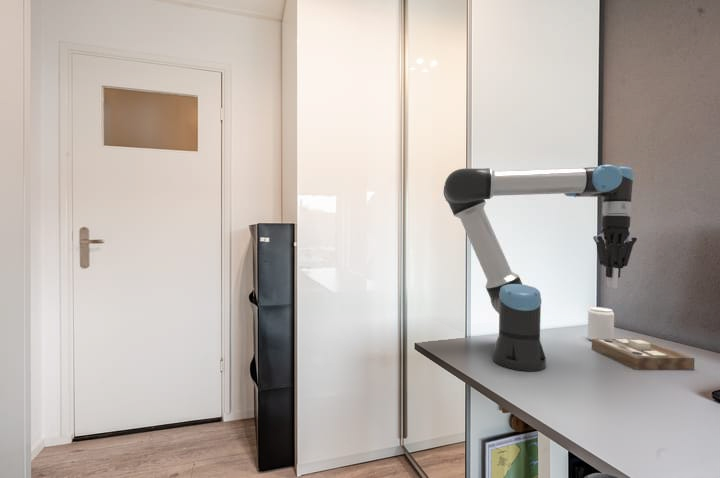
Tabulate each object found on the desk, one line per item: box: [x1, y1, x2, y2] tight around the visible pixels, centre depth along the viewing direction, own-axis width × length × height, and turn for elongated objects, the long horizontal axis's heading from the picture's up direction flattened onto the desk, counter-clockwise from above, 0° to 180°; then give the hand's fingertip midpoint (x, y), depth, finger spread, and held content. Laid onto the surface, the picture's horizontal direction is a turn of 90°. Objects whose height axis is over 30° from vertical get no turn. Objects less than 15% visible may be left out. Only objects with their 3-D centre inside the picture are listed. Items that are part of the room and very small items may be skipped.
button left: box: [614, 338, 628, 344], centre depth 122 cm, size 4×4×3 cm
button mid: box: [628, 340, 651, 350], centre depth 116 cm, size 4×4×3 cm
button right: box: [643, 351, 667, 357], centre depth 110 cm, size 4×4×3 cm
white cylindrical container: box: [587, 306, 615, 341], centre depth 135 cm, size 8×8×12 cm
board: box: [591, 338, 695, 371], centre depth 116 cm, size 18×19×4 cm
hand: (612, 287), depth 118 cm, fingers closed
